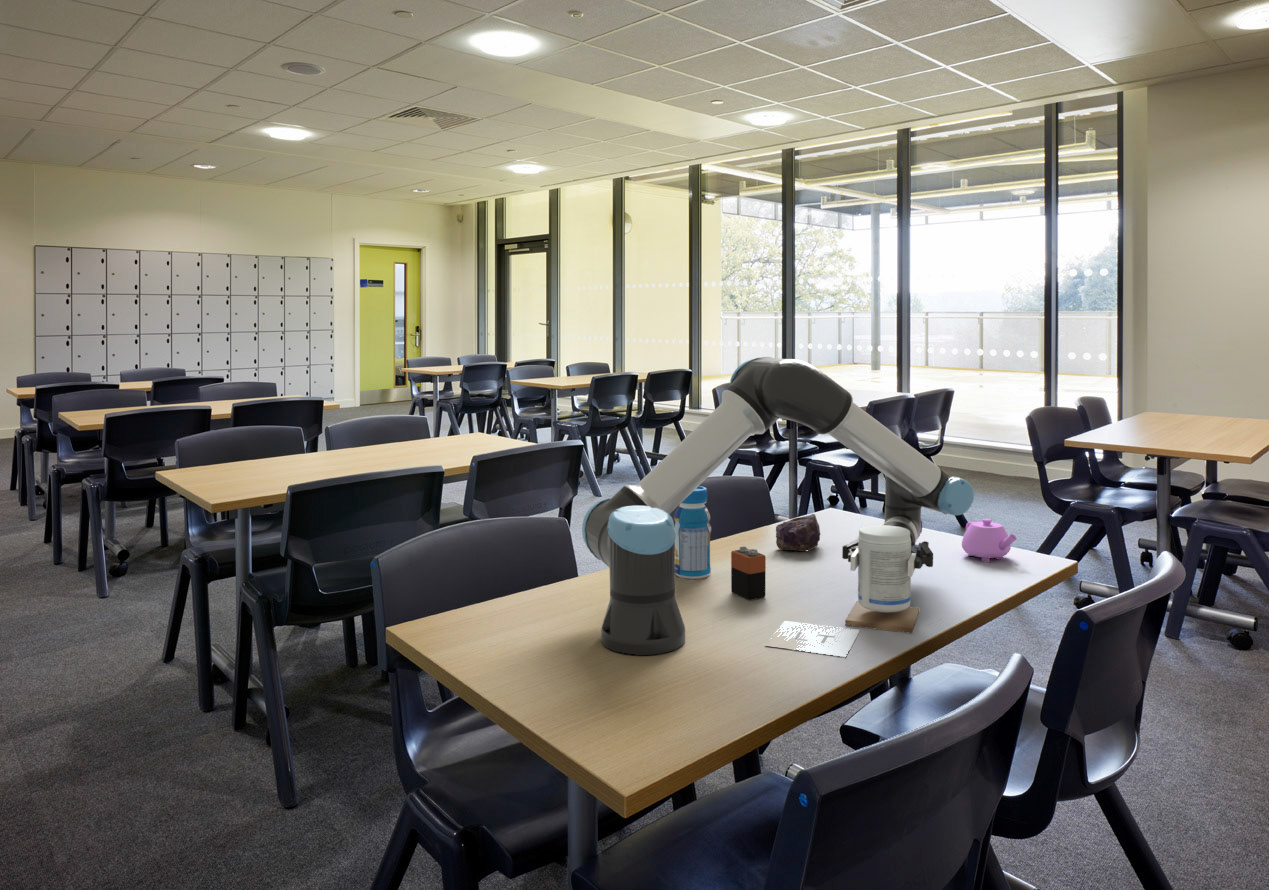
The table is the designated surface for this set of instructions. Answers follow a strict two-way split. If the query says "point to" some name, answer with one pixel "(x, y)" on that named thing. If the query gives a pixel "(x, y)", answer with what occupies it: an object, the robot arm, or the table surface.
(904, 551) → the supplement tub
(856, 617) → the walnut square
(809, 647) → the label card
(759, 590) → the battery
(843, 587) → the table surface
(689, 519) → the beverage bottle
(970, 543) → the teapot
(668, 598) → the robot arm
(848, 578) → the table surface
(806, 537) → the rock
